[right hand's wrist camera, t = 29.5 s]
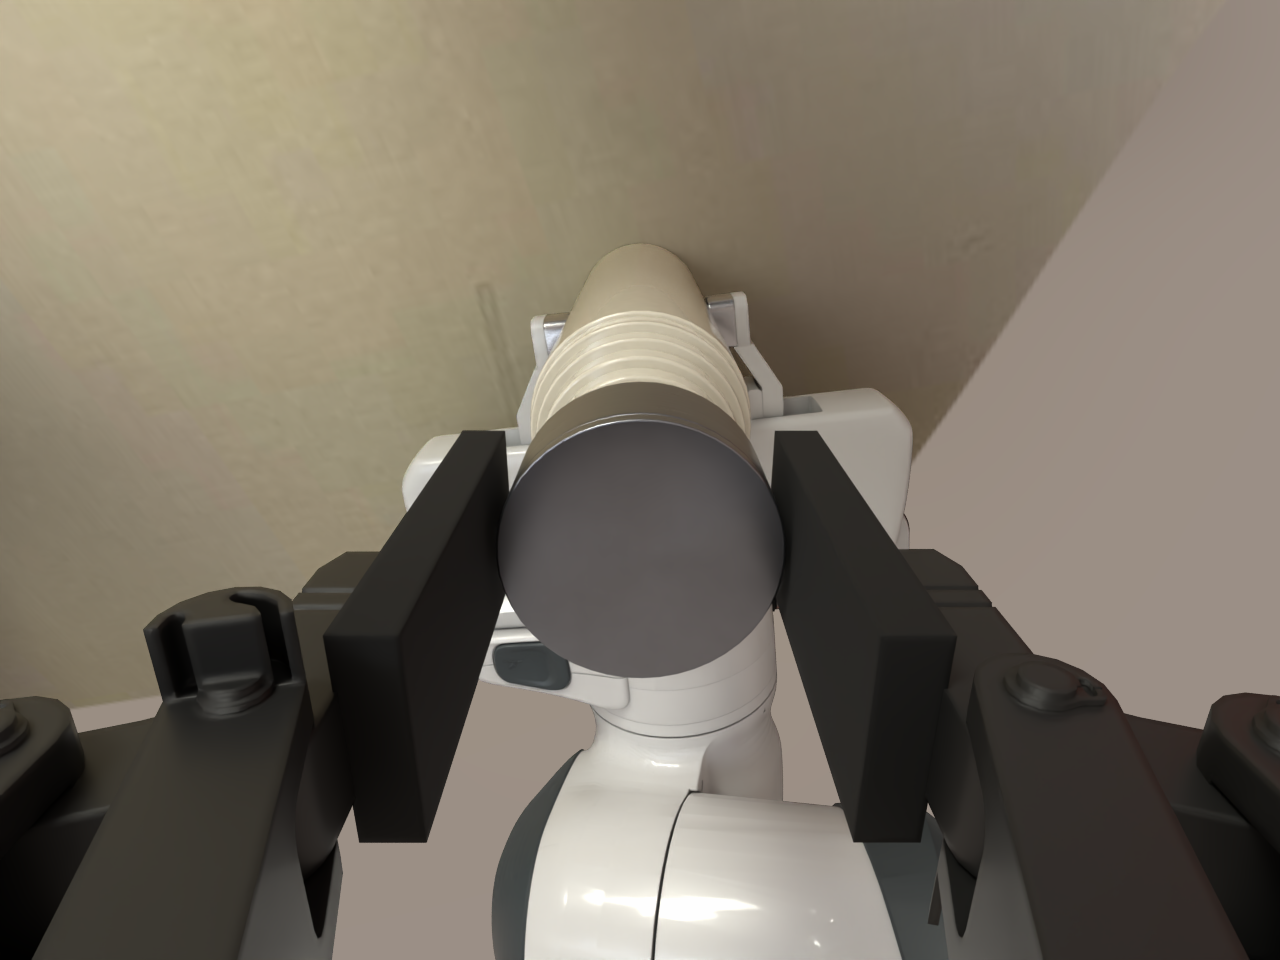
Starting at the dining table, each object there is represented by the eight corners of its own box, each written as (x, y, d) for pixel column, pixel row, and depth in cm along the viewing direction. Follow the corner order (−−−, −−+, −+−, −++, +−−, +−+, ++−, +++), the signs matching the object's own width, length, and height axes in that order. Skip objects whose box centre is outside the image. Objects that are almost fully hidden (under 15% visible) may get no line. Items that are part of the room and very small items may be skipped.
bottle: (614, 380, 37) (575, 708, 14) (561, 276, 35) (419, 465, 12) (717, 330, 36) (847, 596, 13) (667, 221, 34) (721, 317, 12)
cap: (759, 607, 15) (778, 677, 13) (525, 609, 15) (507, 680, 13) (770, 378, 13) (795, 417, 11) (507, 382, 13) (483, 421, 11)
